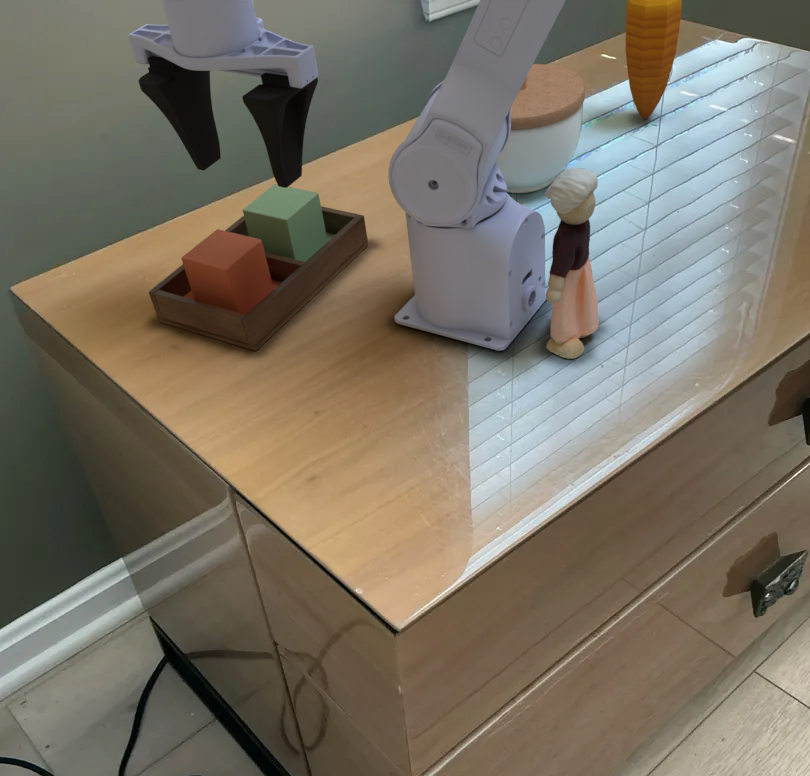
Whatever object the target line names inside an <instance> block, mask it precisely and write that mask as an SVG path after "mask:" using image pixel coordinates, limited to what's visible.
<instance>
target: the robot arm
mask: <svg viewBox="0 0 810 776" xmlns="http://www.w3.org/2000/svg"><path fill="white" fill-rule="evenodd" d="M566 1H567V0H480V1H479V2H478V5H477V7H476V9H475V12H474V14H473V16H472V18H471V21H470V23H469V24H468V27H467V29H466V31H465V34H464V37H463V38H462V41H461V43H460V45H459V47H458V50H457V52H456V54H455V57H454V58H453V61H452V63H451V66H450V68H449V69H448V72H447V73H446V76H445V77H444V80H442V81H441V82H440V83H437V85H435V87H434V88H433V89H432V90H431V91H430V93H429V95H428V96H427V98H426V100H425V103H424V104H423V109H422V110H421V113H420V114H419V116H418V118H417V119H416V121H415V123H414V124H413V126H412V127H411V129H410V130H409V132H408V134H407V136H406V138H405V139H404V141H402V142H401V143H400V144H399V145H398V146H397V147H396V149H395V151H394V153H393V154H392V156H391V159H390V160H389V165H388V176H387V177H388V184H389V188H390V192H391V194H392V197H393V198H394V200H395V201H396V203H397V204H398V206H399V207H400V208H401V209H402V210H403V212H405V213H404V214H405V222H406V231H407V240H408V248H409V256H410V266H411V272H412V282H413V290H414V295H413V296H412V297H411V298H410V299H409V300H408V301H407V302H406V303H405V305H403V306H402V307H401V308H400V310H399V311H397V313H396V314H394V323H395V324H398V325H402V326H405V327H409V328H412V329H416V330H420V331H423V332H427V333H431V334H435V335H438V336H443V337H447V338H450V339H453V340H457V341H461V342H465V343H469V344H472V345H476V346H478V347H484V348H487V349H491V350H494V351H497V352H500V351H505V350H506V349H507V348H508V347H509V346H510V344H511V343H512V342H513V341H514V340H515V338H517V336H518V335H519V333H520V332H521V331H522V330H523V328H524V327H526V325H527V324H528V322H529V321H530V320H531V319H532V317H533V316H534V315H535V314H536V313H537V311H538V310H539V309H540V308H541V307H542V306H543V304H544V303H545V302H546V301H547V299H546V292H547V290H548V288H547V287H546V228H545V222H544V219H543V217H542V215H541V213H540V212H539V211H536V210H534V209H531V208H529V207H527V206H525V205H523V204H520V203H519V202H518V201H516V200H515V199H514V198H513V197H511V196H510V194H509V193H508V192H507V185H506V184H505V181H504V177H503V175H502V173H501V170H500V168H499V167H498V165H497V158H498V156H499V154H500V152H501V151H502V150H503V149H504V147H505V145H506V143H507V141H508V138H509V135H510V130H511V107H512V104H513V102H514V100H515V98H516V96H517V94H518V92H519V90H520V88H521V86H522V84H523V82H524V81H525V79H526V77H527V75H528V73H529V71H530V69H531V67H532V65H533V64H535V62H536V59H537V58H538V55H539V53H540V51H541V49H542V48H543V45H544V44H545V41H546V40H547V38H548V36H549V34H550V32H551V30H552V28H553V26H554V24H555V22H556V20H557V18H558V16H559V14H560V12H561V10H562V9H563V7H564V5H565V3H566ZM161 4H162V7H163V11H164V14H165V18H166V21H167V24H151V23H146V24H144V25H142V26H140V27H138V28H137V29H135V30H133V31H131V32H130V33H128V35H127V36H128V39H129V43H130V46H131V49H132V52H133V55H134V59H135V62H136V63H137V64H139V65H140V64H141V65H148V66H149V67H148V68H147V70H148V72H147V73H145V74H143V75H142V76H141V77H140V78H139V79H138V84H139V88H140V91H141V92H142V93H143V94H144V95H146V97H148V98H149V100H150V101H151V102H152V103H153V104H154V105H155V106H156V107H157V108H158V110H159V111H160V112H161V113H162V114H163V116H164V117H165V118H166V119H167V121H168V123H170V125H171V127H172V128H173V129H174V131H175V133H176V134H177V136H178V137H179V139H180V141H181V143H182V145H183V146H184V148H185V151H186V152H187V153H188V155H189V157H190V158H191V160H192V162H193V164H194V165H195V167H196V169H197V170H199V171H206V170H207V169H208V168H210V167H211V166H213V165H214V164H215V163H217V162H218V161H220V160H221V158H222V157H221V156H222V155H221V145H220V140H219V139H220V138H219V135H218V130H217V129H218V128H217V124H216V121H215V116H214V110H213V102H212V91H211V72H213V71H216V72H217V71H218V72H223V73H231V74H237V75H243V76H244V75H245V76H250V77H251V76H252V77H258V78H260V79H261V83H262V84H261V83H260V84H258V85H256V86H255V87H254V88H251V89H250V90H249V91H248V92H246V93H245V94H243V96H242V97H241V98H242V102H243V104H244V106H245V107H246V109H247V110H248V112H249V113H250V115H251V116H252V118H253V120H254V122H255V124H256V126H257V128H258V130H259V133H260V134H261V138H262V140H263V142H264V145H265V148H266V152H267V157H268V160H269V164H270V167H271V171H272V175H273V177H274V180H275V182H276V184H278V186H279V187H284V188H287V187H291V185H292V184H293V183H295V182H296V181H297V180H299V179H300V178H301V177H302V176H303V153H304V140H305V139H304V138H305V131H306V125H307V119H308V115H309V110H310V107H311V104H312V100H313V97H314V93H315V92H316V88H317V86H318V82H319V79H318V78H319V69H318V64H317V57H316V52H315V46H314V45H312V44H306V43H302V42H297V41H294V40H292V39H290V38H287V37H284V36H282V35H280V34H278V33H275V32H273V31H270V30H268V29H265V25H264V20H263V19H262V18H261V17H257V13H256V9H255V4H254V0H161Z"/></svg>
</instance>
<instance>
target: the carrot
mask: <svg viewBox="0 0 810 776" xmlns="http://www.w3.org/2000/svg"><path fill="white" fill-rule="evenodd" d="M682 9H683V1H682V0H626V7H625V45H624V46H625V47H624V48H625V50H624V51H625V57H626V58H625V59H626V71H627V77H628V84H629V90H630V93H631V97H632V100H633V103H634V106H635V108H636V110H637V113H638V115H639V116H640V117H641V118H642V120H648V118H649V117H650V116H652V115H653V113H654V111H655V110H656V109H657V107H658V105H659V104H660V101H661V99H662V97H663V95H664V93H665V91H666V88H667V87H668V83H669V79H670V76H671V73H672V69H673V66H674V62H675V58H676V53H677V47H678V41H679V34H680V27H681V18H682Z"/></svg>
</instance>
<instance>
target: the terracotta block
mask: <svg viewBox="0 0 810 776" xmlns="http://www.w3.org/2000/svg"><path fill="white" fill-rule="evenodd" d="M180 258H181V262H182V265H184V269H185V272H186V275H187V278H188V281H189V284H190V287H191V290H192V294H193V297H194V300H196V301H200V302H203V303H207V304H210V305H214V306H217V307H221V308H224V309H228V310H231V311H235V312H238V313H242V314H245V315H246V314H247V313H248V312H249V311H251V310H252V309H253V308H254V307H255V306H256V305H257V304H258V303H260V302H261V301H262V300H263V299H264V298H265V297H266V296H267V295H268V294H270V293H271V292H272V291H273V290H274V288H273V284H272V280H271V276H270V272H269V268H268V264H267V260H266V255H265V251H264V247H263V243H262V240H261V239H256V238H252V237H248V236H244V235H240V234H236V233H232V232H227V231H225V230H223V229H219V228H218V229H216V230H214V231H213V232H212V233H210V234H209V235H208V236H207V237H205V238H204V239H202V240H201V241H200V242H199V243H198V244H196V246H194V247H193V248H192V249H190V250H189V251H188V252H186V253H185V254H184V255H183V256H182V257H180Z"/></svg>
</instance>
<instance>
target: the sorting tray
mask: <svg viewBox="0 0 810 776" xmlns="http://www.w3.org/2000/svg"><path fill="white" fill-rule="evenodd" d="M321 209H322V214H323V220H324V225H325V230H326V236H327V241H328V242H327V243H326V244H325V245H323V246H322V247H321V248H320V249H319V250H318V251H317V252H316V253H315V254H313V255H312V256H311V257H310V258H309V259H308V260H307V261H306V262H304V261H300V260H296V259H292V258H288V257H284V256H280V255H276V254H272V253H268V252H265V255H266V260H267V264H268V268H269V272H270V276H271V280H272V284H273V288H274V290H273V291H272V292H271V293H270V294H268V295H267V296H266V297H265V298H264V299H263V300H262V301H261V302H260V303H258V304H257V305H256V306H255V307H254V308H253V309H252V310H251V311H249V312H248V313H247V314H246V315H245V314H242V313H238V312H235V311H231V310H228V309H224V308H221V307H217V306H214V305H210V304H207V303H203V302H200V301H196V300H194V297H193V294H192V290H191V287H190V284H189V281H188V278H187V275H186V272H185V269H184V265H183V264H181V265H180V266H178V268H176V269H175V270H174V271H173V272H171V273H170V274H168V275H167V276H166V277H165V278H164V279H163V280H161V281H160V282H159V283H158V284H156V285H155V286H154V287H153V288H152V289H150V290H149V291H148V295H149V297H150V301H151V303H152V306H153V309H154V312H155V315H156V317H157V320H158V322H159V323H163V324H165V325H169V326H172V327H174V328H175V327H176V328H179V329H182V330H185V331H189V332H192V333H195V334H198V335H202V336H204V337H205V336H206V337H207V338H208V337H209V338H211V339H215V340H218V341H222V342H225V343H228V344H231V345H234V346H238V347H241V348H244V349H248V350H252V351H257V350H259V349H260V348H261V347H262V346H263V345H265V343H266V342H267V341H268V340H269V339H270V338H271V337H272V336H273V335H275V334H276V333H277V332H278V331H279V330H280V329H281V328H282V327H283V326H284V325H286V324H287V322H288V321H290V320H291V319H292V318H293V317H294V316H295V315H296V314H297V313H298V312H299V311H300V310H301V309H302V308H304V306H305V305H306V304H308V303H309V302H310V301H311V300H312V299H313V298H314V297H315V296H316V295H317V294H318V293H319V292H321V291H322V289H324V288H325V287H326V286H327V285H328V284H329V283H330V282H331V281H332V280H333V279H335V277H337V276H338V274H339V273H341V272H342V271H343V270H345V268H346V267H347V266H348V265H349V264H350V263H352V261H354V259H356V258H357V257H358V256H359V255H360V254H361V253H362V252H364V250H366V248H367V247H369V240H368V234H367V233H368V232H367V226H366V221H365V215H363V214H358V213H354V212H350V211H346V210H341V209H337V208H336V209H335V208H332V207H328V206H327V207H326V206H323V205H321ZM224 231H227V232H232V233H236V234H240V235H244V236H248V237H249V234H248V230H247V226H246V222H245V218H244V215H242V216H241V217H240V218H238V219H237V220H236V221H235V222H234V223H233V224H231V225H230V226H228V228H226V229H225V230H224Z"/></svg>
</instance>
